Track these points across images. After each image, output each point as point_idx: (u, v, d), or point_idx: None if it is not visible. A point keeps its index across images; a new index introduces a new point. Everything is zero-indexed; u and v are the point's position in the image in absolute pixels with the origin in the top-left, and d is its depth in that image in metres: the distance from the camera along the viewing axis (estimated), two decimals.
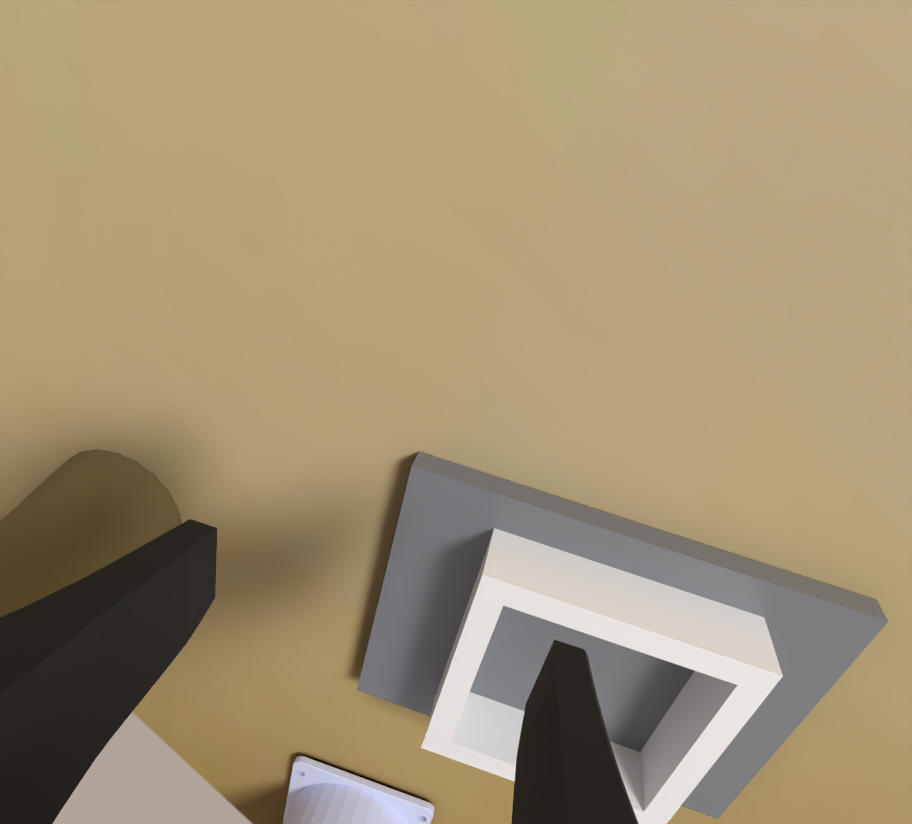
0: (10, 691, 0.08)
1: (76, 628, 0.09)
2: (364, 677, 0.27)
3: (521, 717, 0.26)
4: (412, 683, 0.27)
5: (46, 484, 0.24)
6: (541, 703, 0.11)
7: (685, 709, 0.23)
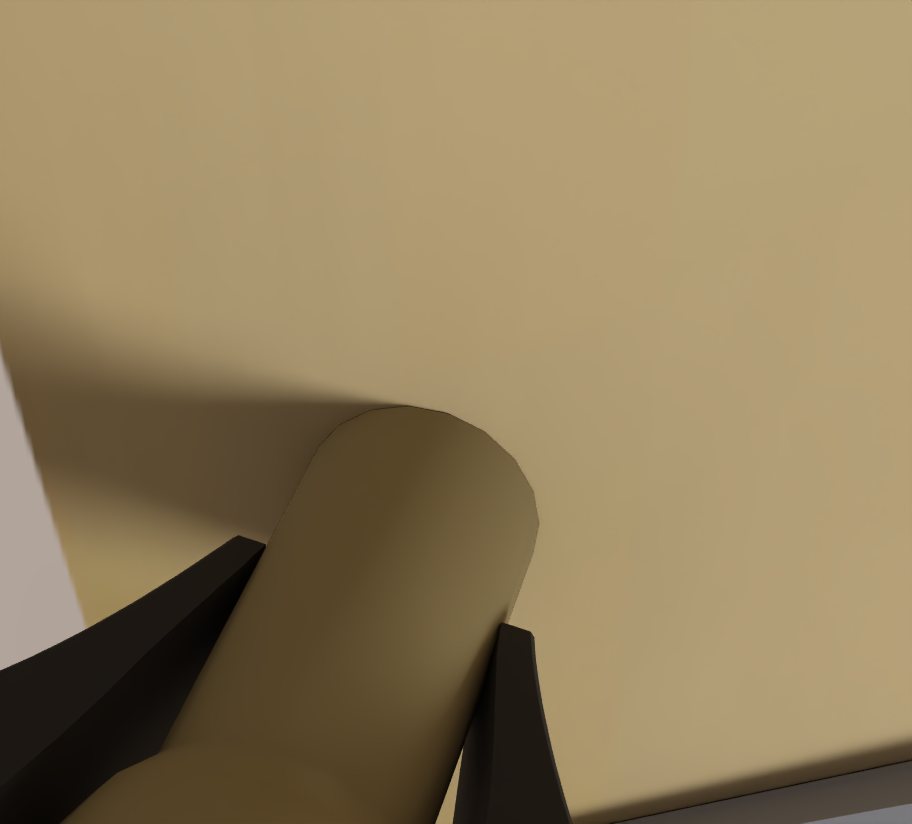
0: (83, 718, 0.08)
1: (141, 651, 0.09)
2: None
3: None
4: None
5: (425, 476, 0.12)
6: (485, 684, 0.11)
7: None
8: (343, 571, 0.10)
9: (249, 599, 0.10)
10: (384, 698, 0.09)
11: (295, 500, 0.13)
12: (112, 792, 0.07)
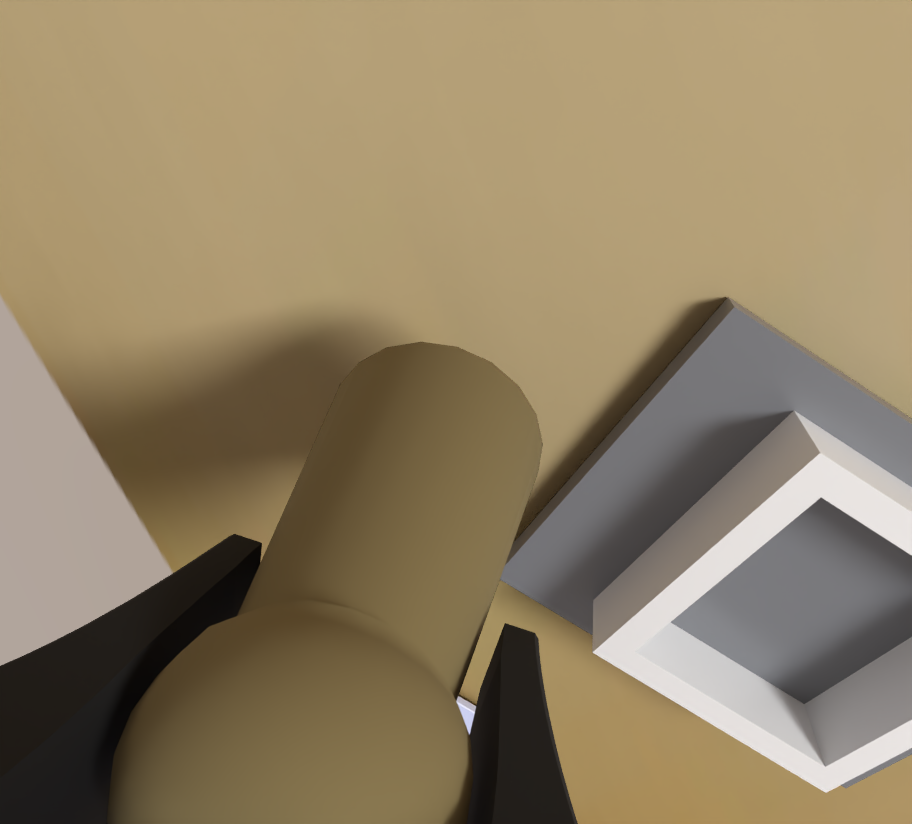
0: (77, 716, 0.08)
1: (135, 649, 0.09)
2: (514, 563, 0.23)
3: (692, 642, 0.22)
4: (572, 581, 0.23)
5: (441, 398, 0.14)
6: (489, 685, 0.11)
7: None
8: (376, 475, 0.12)
9: (296, 503, 0.12)
10: (419, 569, 0.10)
11: (325, 427, 0.14)
12: (210, 635, 0.09)
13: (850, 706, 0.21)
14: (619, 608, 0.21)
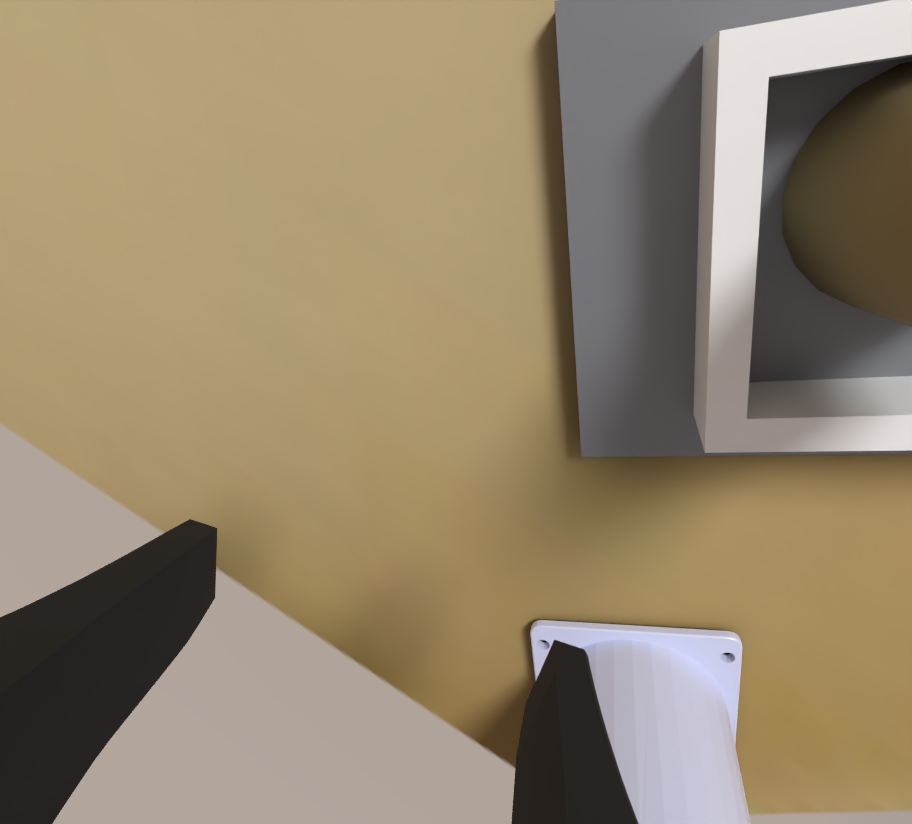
0: (10, 691, 0.08)
1: (76, 628, 0.09)
2: (586, 429, 0.20)
3: (836, 383, 0.17)
4: (655, 407, 0.19)
5: None
6: (541, 703, 0.11)
7: None
8: None
9: None
10: None
11: (885, 112, 0.13)
12: None
13: None
14: (701, 388, 0.17)
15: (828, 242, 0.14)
